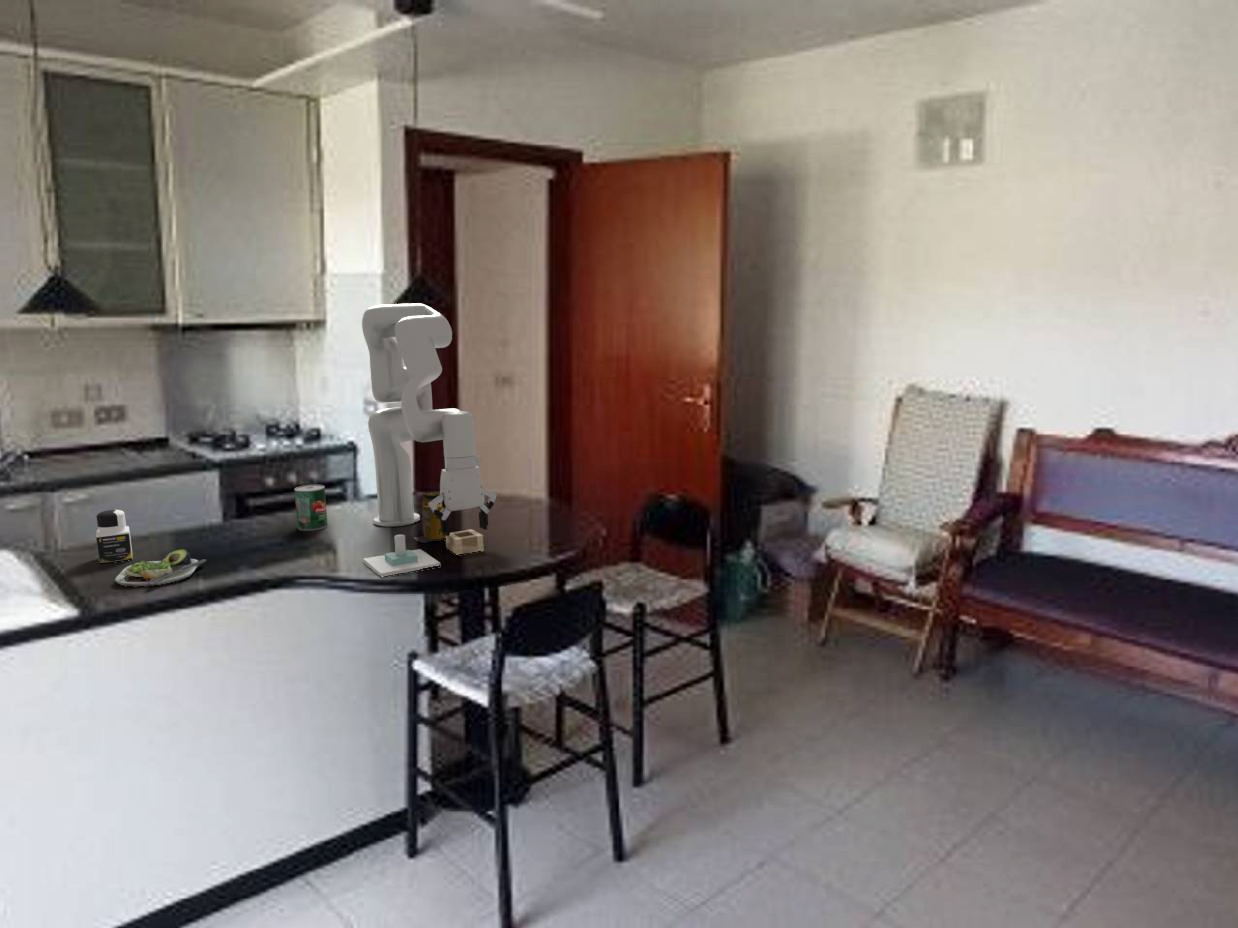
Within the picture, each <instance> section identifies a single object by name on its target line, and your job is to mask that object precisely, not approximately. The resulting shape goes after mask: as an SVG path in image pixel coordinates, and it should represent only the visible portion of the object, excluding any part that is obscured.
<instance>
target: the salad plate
mask: <svg viewBox="0 0 1238 928" xmlns="http://www.w3.org/2000/svg"><path fill="white" fill-rule="evenodd" d="M205 562H207V559H200V560H199V559H195V558H191V555H190V552H189V551H188V550H187V549H183V548H182V549H177V550H172V551H170V552H169V553H168V554H166V555H164V558H163V559H161V560H152V561H147V560H146V561H145V560H140V561H139V562H135V563H134V564H130V565H128V566H126V567H124V568H123V569H122V570H121V571H120V573H119V574H118V575H116V577H115V578H114V581H115V582H116V583H117V584H119V585H121V586H123V585H124V586H123V587H127V586H133V587H132V588H139V587H138V586H144V587H155V586H154V585H158V586H162V584H163V585H166V583H167V584H170V583H171V582H172V583H175V581H176V582H178V581H182V580H185V579H188V578H189V577H191V575H192V574H193V573H194V572H195V571H196V570H197V569H198V568H199V567H200V566H202V565H203V564H205ZM127 575H129V576H135V577H143V578H142V579H144V581H129V582H127V581H125V579H124V578H125V577H126V576H127ZM187 577H188V578H187ZM145 580H148V582H145Z"/></svg>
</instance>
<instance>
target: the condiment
mask: <svg viewBox="0 0 1238 928" xmlns="http://www.w3.org/2000/svg"><path fill="white" fill-rule="evenodd" d="M439 495H440V491H438V490H436V491H427V492H424V493H423V495H422V502H423V503H422V505H421V512H422V513H421V514H422V517H421V518H422V529H423V531H422V533H423V535H424V538H425V539H431V540H434V539H442V538H446V535H444V534H443V533H442V532H441V525H440V518H438V517H437V516H436V515H435V514H434V513H433V512H432V510H431V509H430V507H429V506H428V503H429V502H430V501H432V500H433V499H435V498H436V497H438V496H439ZM436 507H437V509H438V510H439V511H441V510H442V507H441V505H440V503H439V504H437V506H436Z"/></svg>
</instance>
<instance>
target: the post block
mask: <svg viewBox="0 0 1238 928" xmlns="http://www.w3.org/2000/svg"><path fill="white" fill-rule="evenodd" d="M406 546H407V545H406V535H405V534H396V535H394V549H395V551H393V552H387V553H384V554H383V555H376V556H371V557H364V558H362V560H363V564H364V565H366V566H367V567H368V568H369V569H370V568H371V569H372V572H374V571H375V572H376V573H377V574H378V575H380V576H387V575H392V574H398V573H404V572H409V571H414V570H420V569H423V568H428V567H433V566H439V565H440V566H441V562H440V561H438V560H437V559H435V558H434V557H432V556H431V555H430V554H428V553H427V552H426V551H424V550H422V549H421V548H417V549H412V550H410V549H407V547H406ZM371 569H370V570H371ZM375 572H374V573H375ZM376 573H375V574H376ZM377 574H376V575H377ZM378 575H377V576H378ZM380 576H379V577H380Z"/></svg>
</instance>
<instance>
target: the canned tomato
mask: <svg viewBox="0 0 1238 928" xmlns="http://www.w3.org/2000/svg"><path fill="white" fill-rule="evenodd" d="M325 487H326V486H325V485H322V484H306V485H305V484H304V485H301V486H297V487H295V488H294V489H293V490H294V501H295V509H296V511H295V512H296V522H297V529H298V530H299V531H304V532H305V531H308V532H309V531H310V532H311V531H317V530H318V531H319V530H323V529H325V528H328V526H329V524H328V515H327V513H328V511H327V504H326V503H327V501H326V490H325Z"/></svg>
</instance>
